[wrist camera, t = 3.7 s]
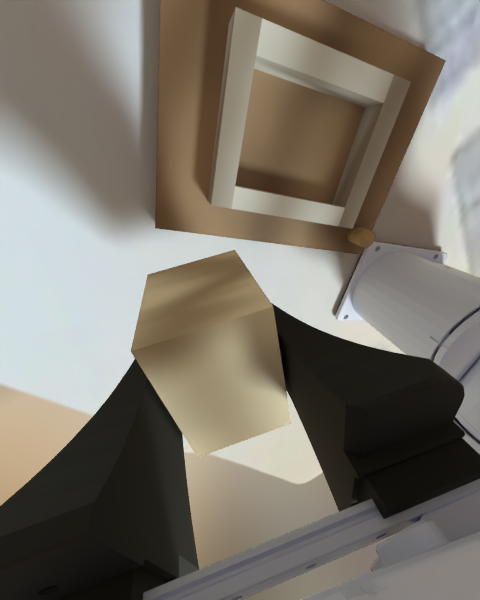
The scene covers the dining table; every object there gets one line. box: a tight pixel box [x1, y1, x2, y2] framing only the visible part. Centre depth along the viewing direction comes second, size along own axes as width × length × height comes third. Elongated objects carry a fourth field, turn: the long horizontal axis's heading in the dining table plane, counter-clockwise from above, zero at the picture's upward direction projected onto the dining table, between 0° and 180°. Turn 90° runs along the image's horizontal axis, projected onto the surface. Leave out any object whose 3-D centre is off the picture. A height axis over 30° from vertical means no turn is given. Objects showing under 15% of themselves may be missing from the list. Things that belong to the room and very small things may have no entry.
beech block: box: [131, 250, 291, 457], centre depth 10 cm, size 4×6×5 cm, turn 12°
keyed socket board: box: [155, 0, 445, 254], centre depth 14 cm, size 16×12×3 cm
